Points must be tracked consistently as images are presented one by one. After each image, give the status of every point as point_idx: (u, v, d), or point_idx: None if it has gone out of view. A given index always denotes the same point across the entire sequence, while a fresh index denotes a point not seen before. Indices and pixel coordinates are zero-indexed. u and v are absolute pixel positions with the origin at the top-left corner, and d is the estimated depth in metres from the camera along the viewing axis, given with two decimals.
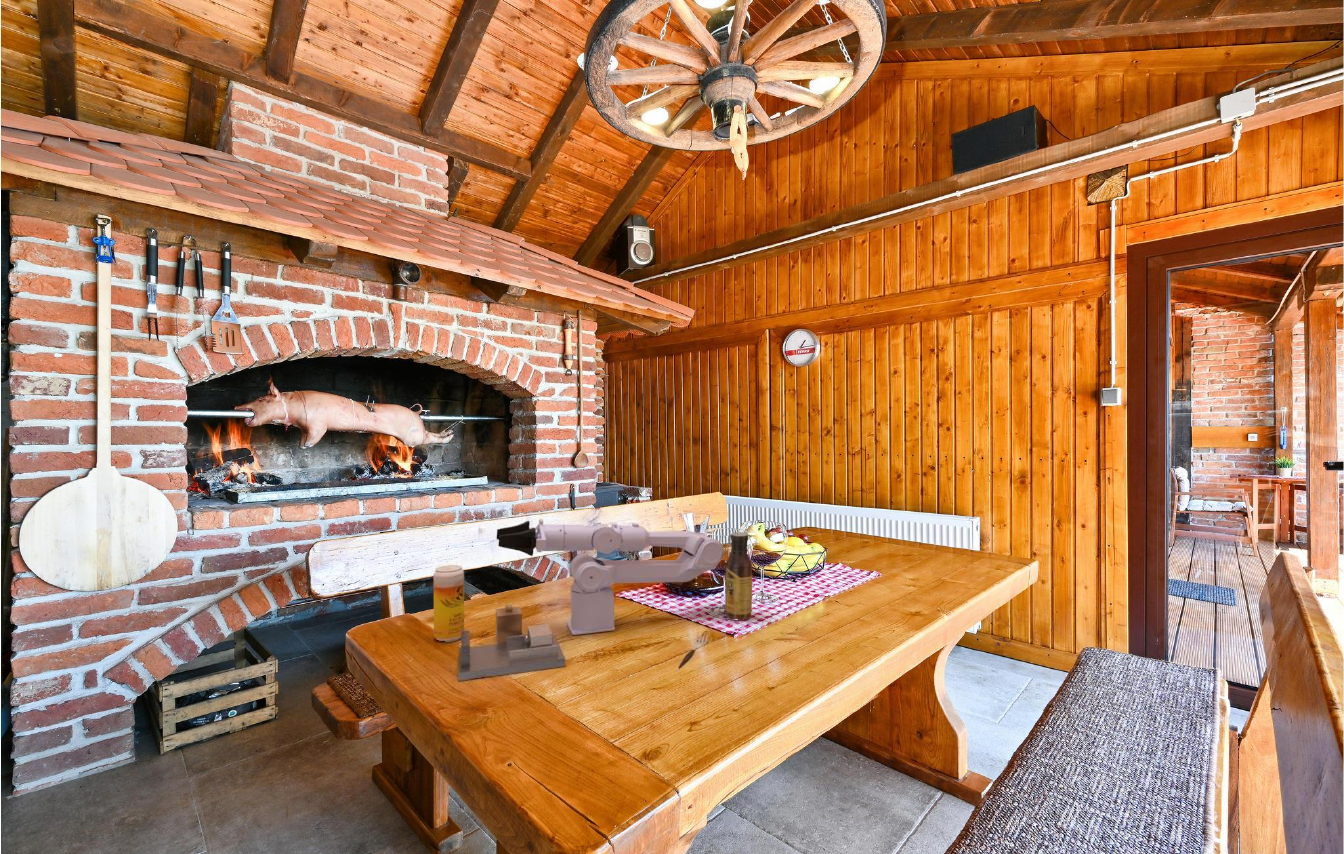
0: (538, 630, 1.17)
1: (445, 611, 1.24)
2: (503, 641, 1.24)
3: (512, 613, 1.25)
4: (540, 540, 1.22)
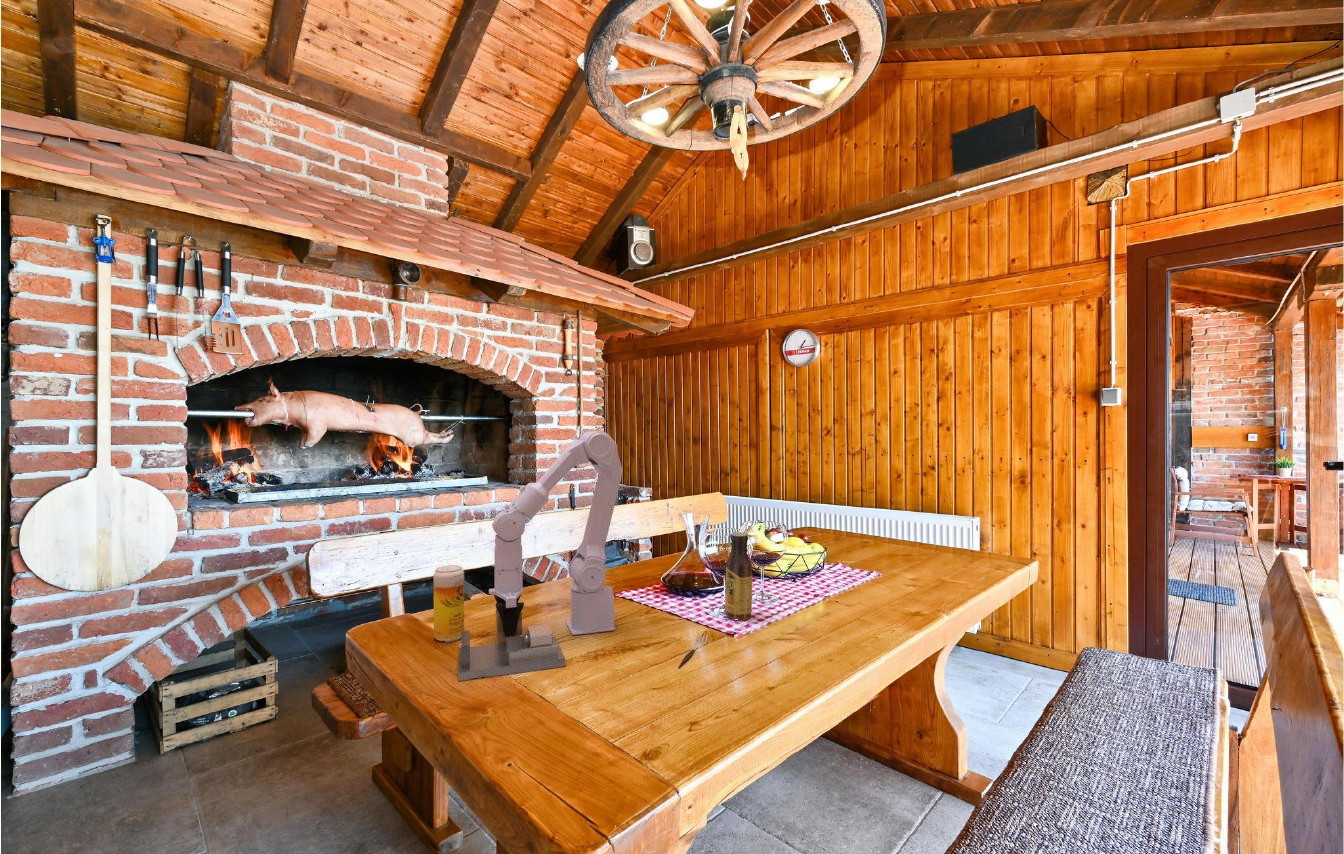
0: (538, 630, 1.17)
1: (445, 611, 1.24)
2: (503, 641, 1.24)
3: None
4: (507, 604, 1.19)
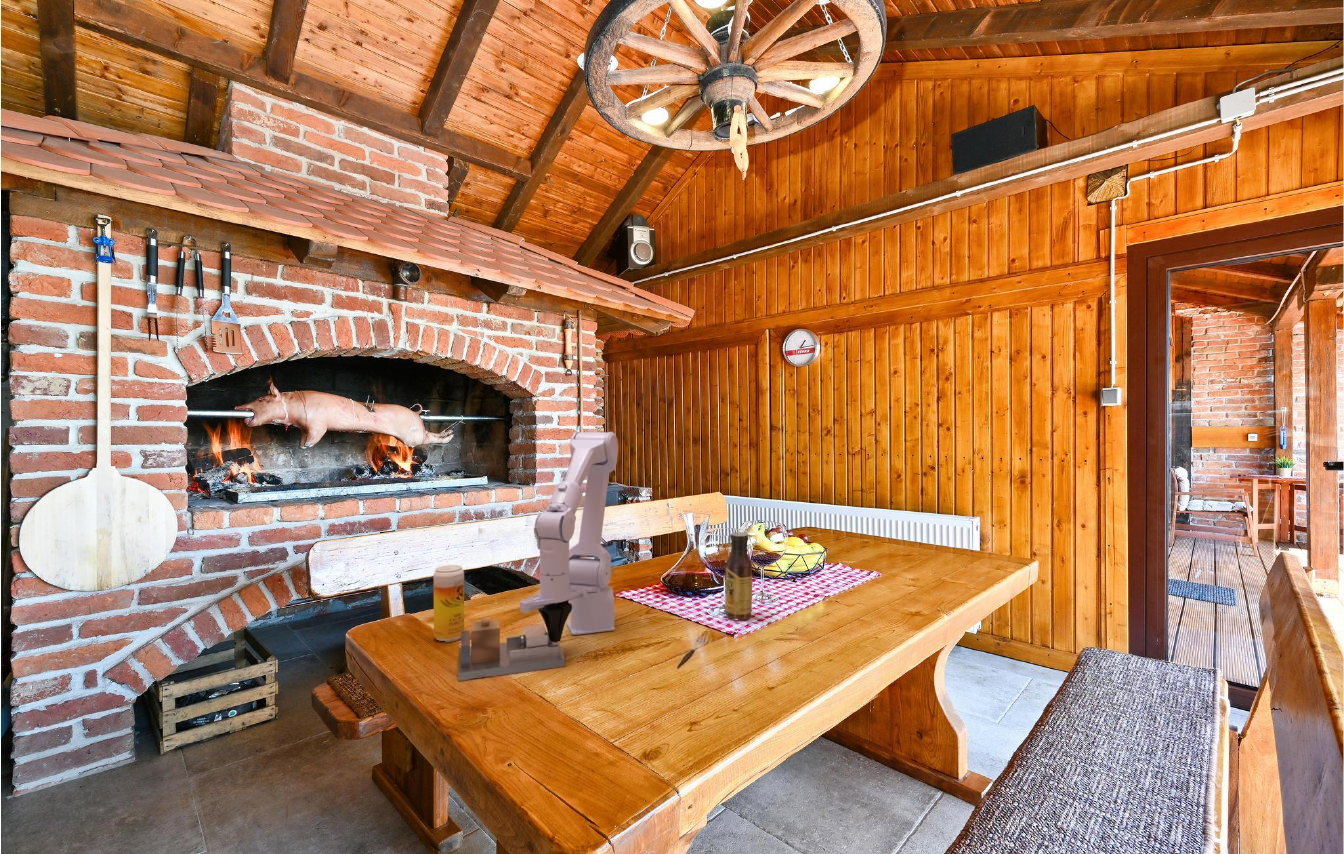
0: (534, 630, 1.17)
1: (445, 611, 1.24)
2: (478, 659, 1.11)
3: (488, 628, 1.12)
4: (520, 607, 1.13)
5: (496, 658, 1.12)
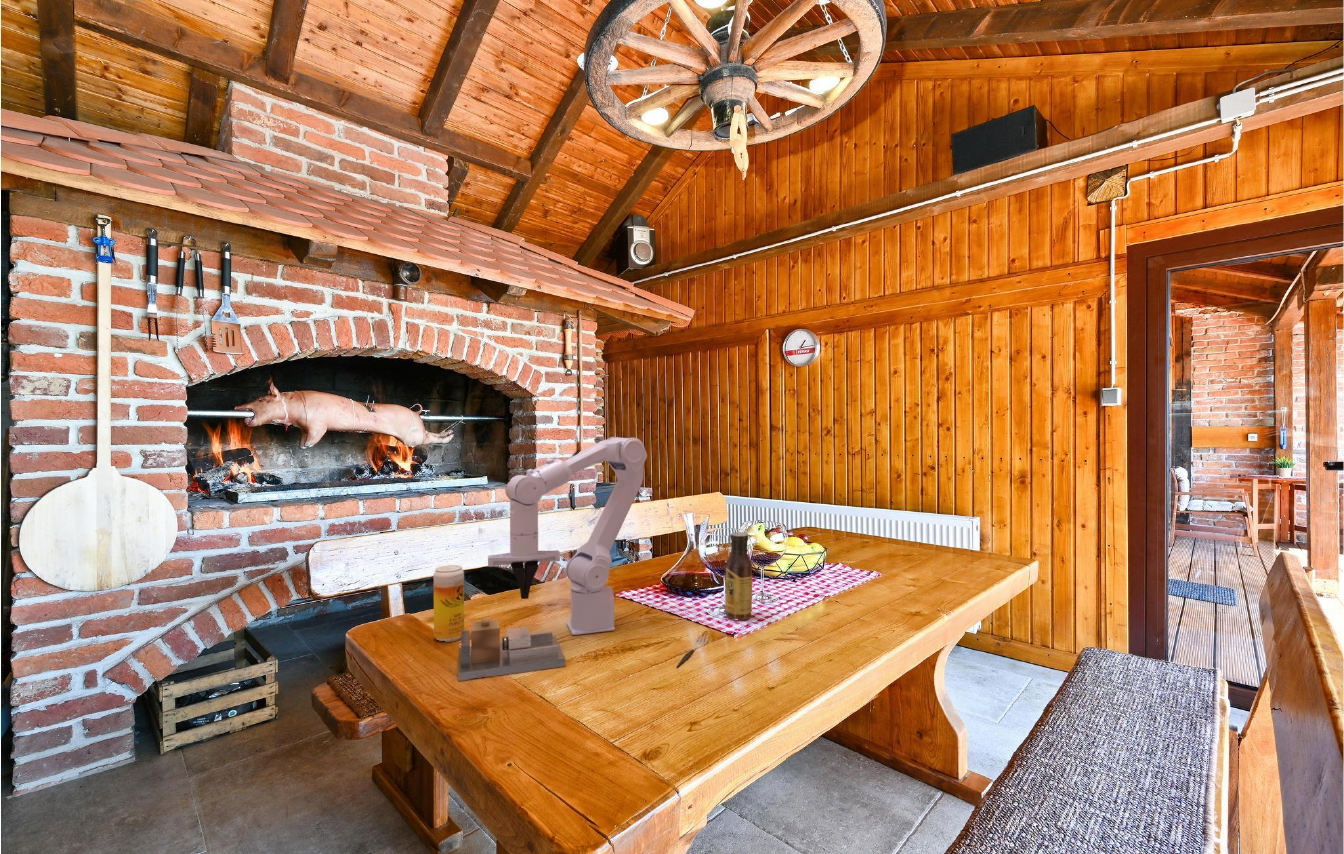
0: (517, 632, 1.16)
1: (445, 611, 1.24)
2: (478, 659, 1.11)
3: (488, 628, 1.12)
4: None
5: (496, 658, 1.12)
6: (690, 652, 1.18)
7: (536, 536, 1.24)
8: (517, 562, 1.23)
